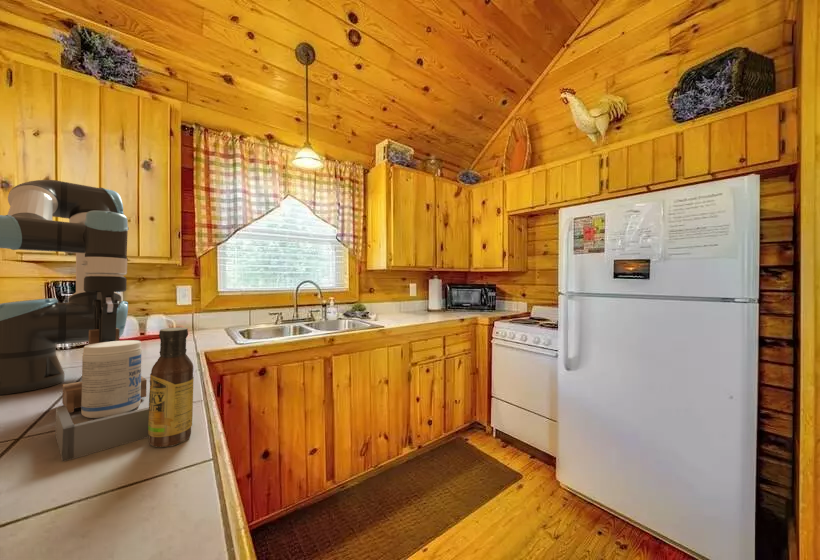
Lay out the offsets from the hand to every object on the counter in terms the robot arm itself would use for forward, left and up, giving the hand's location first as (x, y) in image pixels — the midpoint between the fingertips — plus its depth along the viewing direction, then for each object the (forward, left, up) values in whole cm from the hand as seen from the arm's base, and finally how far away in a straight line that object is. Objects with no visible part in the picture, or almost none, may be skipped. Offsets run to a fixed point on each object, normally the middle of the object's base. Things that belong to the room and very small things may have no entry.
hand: (103, 372), depth 77 cm
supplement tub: (+11, 0, -6) cm, 13 cm away
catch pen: (+25, 0, -6) cm, 26 cm away
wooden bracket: (+4, 0, -6) cm, 7 cm away
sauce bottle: (+37, +4, -6) cm, 38 cm away
